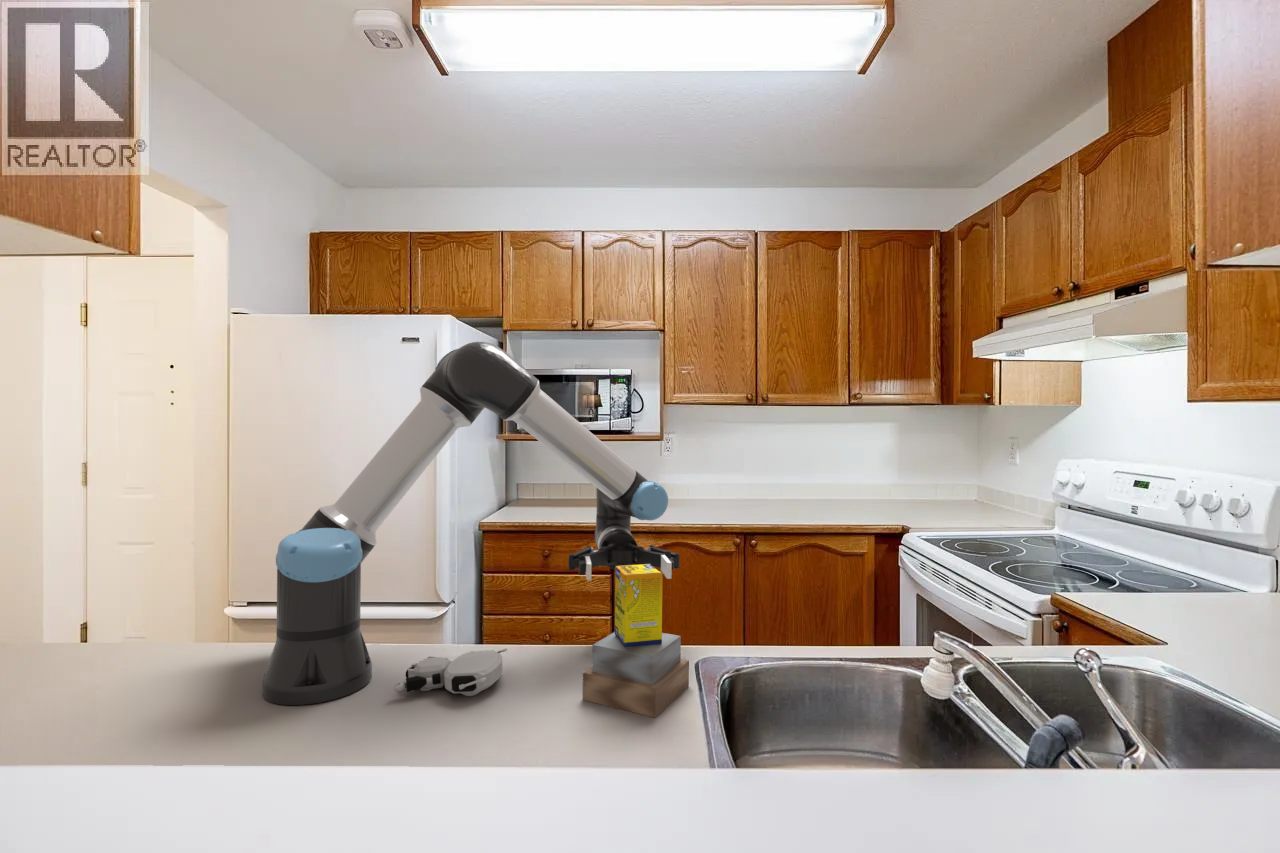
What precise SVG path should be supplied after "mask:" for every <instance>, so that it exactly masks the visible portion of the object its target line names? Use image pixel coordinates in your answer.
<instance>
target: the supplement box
mask: <svg viewBox="0 0 1280 853" xmlns="http://www.w3.org/2000/svg"><path fill="white" fill-rule="evenodd" d="M614 570H615V573H614V575H615V578H614V579H615V582H614V583H615V585H614V587H615V590H614V591H615V592H614V594H615V596H614V602H615V603H614V607H615V609H614V632H615V635H616V636H617V637H618V638H619V640H620V641H621V642H622V644H623V645H624V647H625V648H630V647H639V646H649V645H658V644H662V633H663V628H662V627H663V579H664V578H663V576H664V574H663V572H662V571H661V570H658V569H657V568H656V567H654V566H652V565H651V564H641V565H624V566H616V567H615V569H614Z"/></svg>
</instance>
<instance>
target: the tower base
mask: <svg viewBox="0 0 1280 853" xmlns="http://www.w3.org/2000/svg"><path fill="white" fill-rule="evenodd" d="M681 639H682V638H681V635H676V634H671V633H666V632H665V633H664V632H662V644H658V645H649V646H639V647H630V648H625V647H624V645H623V644H622V642H621V641H620V640H619V638H618V637H617V636H616V635H615V631H613V632H612V633H610V634H608V635H607V636H605V637H603V638H602V639H600V640H598V641H595V643H593V644H592V650H591V652H592V654H591V656H592V657H591V662H592V663H591V664H592V666H591V667H589V668H587V669H586V670H585V671H583V672H582V700H583V701H587V702H590V703H595V704H599V705H602V706H608V707H611V708H615V709H619V710H623V711H627V712H631V713H635V714H638V715H644V716H647V717H651V718H652V717H653V718H657V717H658V716H659V715H660V714H661V713H662V712H663V711H664V710H665V709H667V707H668V706H669V705H671V703H673V702H674V701H675V700H676V699H677V698H678V697H679V696H680V695H681V694H682V693H684V691H685V690H686V689H687V688H688V687H689V686H690V685H689V684H690V683H689V682H690V681H689V679H690V677H689V676H690V661H689V660H687V659H683V658H681V657H682V655H681V650H682V649H681V645H682V644H681V642H682V640H681Z"/></svg>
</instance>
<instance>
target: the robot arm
mask: <svg viewBox="0 0 1280 853" xmlns="http://www.w3.org/2000/svg"><path fill="white" fill-rule="evenodd" d="M419 392H420V401H419V402H418V403H417V405H416V406H415V407H414V408H413V409H412V411H411V412H410V413H409V414H408V415H407V416H406V417H405V419H404V420H403V421H402V423H401V424H400V425H399V426H398V427H397V428H396V430H394V432H393V433H392V435H391V436H390V437H389V438H388V439H387V441H386V442H385V443H384V444H383V445H382V446H381V447H380V449H379V450H378V452H376V454H375V455H374V456H373V457H372V458H371V459H370V461H369V462H368V463H367V465H366V466H365V467H364V468H363V469H362V470H361V472H360V473H358V475H357V477H356V478H354V480H353V481H352V483H350V485H349V486H348V487H347V488H346V489H345V491H344V492H343V493H342V494H341V496H340V497H339V498H338V499H337V501H336V502H335V503H333V504H330V505H323V506H320V507H319V508H318V509H317V510H316V511H315V513H314V514H313V515H312V516H311V518H310V519H308V521H307V523H306V524H305V525H303V527H301V529H299V530H298V531H296V532H295V533H290V534H288V535H286V536H285V537H283V538H282V539H281V541H280V542H279V544H278V546H277V552H276V555H275V566H276V568H277V569H276V579H277V580H276V634H275V635H276V636H275V637H276V640H275V643H274V646H273V649H272V652H271V654H270V657H269V660H268V664H267V666H266V670H265V673H264V674H263V677H262V682H261V683H262V684H261V685H262V687H261V688H262V690H261V693H262V695H261V696H262V697H263V698H264V700H265V701H267V702H269V703H273V704H278V705H286V706H292V705H293V706H301V705H312V704H317V703H318V704H319V703H323V702H328V701H332V700H337V699H340V698H343V697H345V696H348V695H351V694H353V693H355V692H357V691H359V690H361V689H363V688H365V687H366V685H367V684H369V683H370V681H371V680H372V677H373V676H372V674H373V663H372V662H373V661H372V660H371V657H370V653H369V651H368V648H367V645H366V642H365V638H364V637H363V633H362V631H361V599H362V598H361V594H362V593H361V592H362V591H361V589H362V588H361V587H362V584H361V583H362V582H361V581H362V579H361V577H362V576H361V575H362V572H361V571H362V567H361V566H362V563H363V561H365V559H366V558H367V557H368V556H369V554H371V551H373V549H374V547H375V546H376V545H377V539H376V538H377V537H376V532H377V530H378V529H379V528H380V526H381V525H382V524H383V523H384V521H386V520H387V518H388V516H390V514H391V513H392V511H393V510H394V509H395V508H396V506H397V505H398V504H399V503H400V502H401V500H402V499H403V497H404V496H405V495H406V494H407V493H408V492H409V490H410V489H411V488H412V486H414V484H415V483H416V481H417V480H418V479H419V478H420V477H421V475H422V474H423V472H425V470H426V468H428V467H429V466H430V464H431V463H432V461H433V460H434V459H435V458H436V456H437V455H438V454H439V453H440V451H441V450H442V449H443V448H444V446H445V445H446V444H447V443H448V442H449V440H450V439H451V438H452V436H453V435H454V434H455V432H456V431H458V429H461V428H467V427H471V426H472V424H473V423H474V421H476V419H477V418H478V417H479V415H480V414H481V413H482V411H483V410H484V409H486V410H489V411H490V412H493V413H494V414H495V415H497V417H499V418H501V419H502V420H503V421H507V422H508V421H513V422H514V423H516V424H517V425H518V426H519V427H521V428H522V429H523V430H524V431H526V432H527V433H528V434H529V435H531V437H533V438H534V439H536V440H537V441H538V442H540V443H541V444H542V445H543V446H544V447H545V448H546V449H548V450H549V451H551V452H552V453H553V454H554V455H555V456H556V457H558V458H559V459H560V460H562V461H563V462H564V463H566V465H568V466H569V467H570V468H572V469H573V470H574V471H575V472H577V473H578V474H579V475H580V476H582V478H584V479H586V480H587V481H588V482H589V483H591V485H592V486H594V487H595V488H596V515H595V516H596V518H595V526H596V527H595V531H594V543H595V544H596V547H597V549H598V550H594V547H592V546H590V545H586V546H584V548H581V550H578V551H575V552H572V553H571V554H569V555H568V559H567V563H568V564H567V565H568V566H567V569H568V570H569V571H574V570H577V569H578V571H577V572H578V574H577V575H579V576H582V575H585V577H586V578H585V579H586V581H592V569H593V568H597V567H600V566H601V567H608V568H610V569H613V570H615V567H616V566H624V565H641V564H651V565H652V566H653V567H654V568H660V572H661V573H663V576H664V577H665V578H666V579H668V580H669V579H670V580H671V579H672V573H673V572H672V571H674V570H676V569H680V561H681V560H680V553H677V552H673V551H671V550H667V549H663V548H659V547H657V546H656V545H648V547H647V549H645V548H644V547H643V546H640V545H638V543H637V541H636V539H635V538H634V536H633V535H632V532H631V527H632V526H631V522H632V521H631V519H632V518H631V517H633V518H635V519H637V520H640V521H645V520H646V521H656V520H657V519H659V518H661V517H662V516H663V515H664V513H666V510H667V508H668V505H669V496H668V495H669V494H668V492H667V491H666V489H665V487H664V486H662V484H660V483H656V482H655V481H653V480H648V479H647V478H646V477H644V476H643V475H642V474H641V473H639V472H638V471H637V470H636V469H634V468H633V466H631V465H630V464H629V463H627V461H625V460H624V459H623V458H622V457H621V456H619V455H618V454H617V453H616V452H615V451H614V450H612V448H610V447H609V446H607V444H605V443H604V442H603V441H602V440H600V439H599V438H598V437H597V436H596V435H595V434H594V433H592V432H591V431H590V430H589V429H588V428H587V427H585V426H584V425H583V424H582V423H581V422H580V421H579V420H578V419H576V418H575V417H574V416H573V415H571V414H570V413H569V412H568V411H567V410H565V409H564V408H563V407H562V406H561V405H560V404H559V403H557V402H556V401H555V400H554V399H553V398H552V397H551V396H549V395H548V394H547V393H546V392H544V391H543V390H542V389H541V387H540V380H539V379H538V378H537V377H536V376H534V374H532V373H531V372H530V371H528V369H527V368H525V367H524V365H522V364H520V363H519V362H518V360H516V359H515V358H514V357H512V356H511V355H510V354H509V353H508V352H506V350H504V349H503V348H500V347H499V346H497V345H495V344H494V343H493V344H492V343H489V342H486V341H473V342H472V341H471V342H467V343H466V344H464V345H462V346H460V347H459V348H455V349H453V350H452V351H449V352H448V353H446V354H445V355H444V356H443V357H442V358H441V359H440V360H439V362H438V363H437V366H436V367H435V369H434V371H433V372H432V373H431V375H430V376H429V377H428V378H427V379H426V381H425V382H424V383H423V384H422V386H421V387H420V388H419Z"/></svg>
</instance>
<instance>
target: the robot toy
mask: <svg viewBox="0 0 1280 853" xmlns="http://www.w3.org/2000/svg"><path fill="white" fill-rule="evenodd" d="M507 650H508V648H503V649H501V650H498V651H496V650H494V649H492V650H491V649H490V650H489V649H487V650H472V651H469V652H465V653H462V654H461V655H459V656H457V657H455V659H453V660H450V659H449V658H448V657H445V656H444V657H443V656H442V657H441V656H440V657H438V656H428V657H426V658H423V659H422V660H419V661H418V662H415V663H413V664H411V666H409V667H408V668H407V669H406V671H405V675H404V676H405V682H402V681H399V682H397V683H395V684H394V685H393V688H394V689H393V690H394V691H395V692H401V691H403V690H405V689H406V693H410V692H414V691H419V690H420V691H421V692H427V691H428V692H429V691H431V690H434V689H441V688H443V687H444V688H445V689H446V691H448V692H451V693H452V694H462V695H464V696H465V697H473V696H476V695H477V694H479V693H480V692H481V691H484V690H487V689H488V688H490V687H491V686H492V685H494V683H496V682H497V681H498V679H500V678H501V676H502V675H503V671H504V666H503V656H502V654H501V653H505V652H506V651H507Z"/></svg>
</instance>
